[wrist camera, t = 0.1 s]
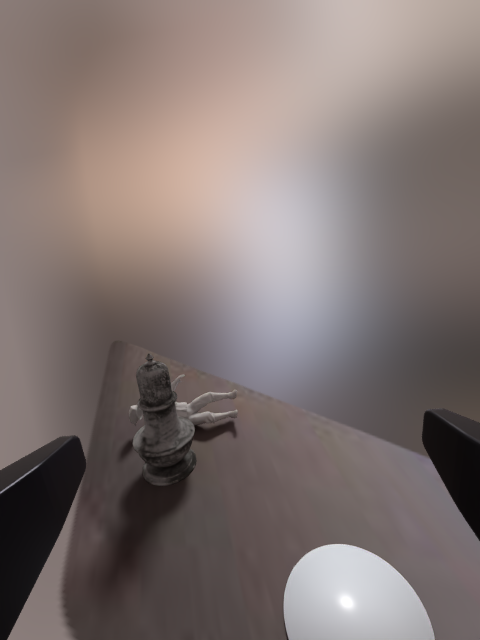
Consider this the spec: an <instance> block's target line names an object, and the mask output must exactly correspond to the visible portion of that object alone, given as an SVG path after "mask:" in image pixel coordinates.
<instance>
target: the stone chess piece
mask: <svg viewBox="0 0 480 640" xmlns="http://www.w3.org/2000/svg"><path fill="white" fill-rule="evenodd" d="M153 358H154V357H153V356H152V355H150V354H148V355H147V357H146V359H147V360H148V361H147V362H146V363H144V364H143V365H141V366H140V367H139V368H138V370H137V372H136V378H137V383H138V387H139V392H140V397H141V398H140V399H139V401H138V407H139V408H140V409H141V410H142V411H143V416H144V420H145V426H144V427H142V428H141V429H140V430H139V431H138V432H137V433H136V435H135V437H134V439H133V447H134V450H135V451H136V452H137V453H138V454H139V456H140V457H141V458H142V459H143V460H144V461H145V464H144V466H143V476H144V479H145V480H146V481H147V482H148V483H150V484H152V485H157V486H166V485H171V484H174V483H177V482H179V481H181V480H183V479H184V478H185V477H187V476H188V475H189V474H190V473H191V472H192V471H193V469H194V467H195V465H196V455H195V453H194V451H193V450H191V449H190V447H191V444H192V440H193V436H194V432H195V428H194V425H193V423H192V422H191V421H190V420H188V419H186V418H183V417H178V415H177V412H176V406H175V401H176V399H177V394H176V393H175V392H174V391H172V388H171V382H170V377H169V371H168V368H167V366H166V365H165V364H164V363H162V362H159V361H155V360H152V359H153Z"/></svg>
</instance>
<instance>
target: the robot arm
mask: <svg viewBox="0 0 480 640" xmlns="http://www.w3.org/2000/svg"><path fill="white" fill-rule="evenodd" d="M422 441H423V445H424V447H425V449H426V451H427V453H428V455H429V457H430V459H431V460H432V462H433V464H434V466H435V468H436V470H437V471H438V473H439V475H440V477H441V479H442V481H443V482H444V484H445V486H446V488H447V490H448V492H449V494H450V495H451V497H452V499H453V501H454V502H455V504H456V506H457V507H458V509H459V511H460V512H461V514H462V515H463V517H464V518H465V520H466V521H467V523H468V524H469V526H470V527H471V529H472V530H473V532H474V533H475V535H476V536H477V538H478V539H479V541H480V423H479V422H476V421H474V420H471V419H469V418H466V417H464V416H461V415H459V414H456V413H453V412H451V411H449V410H446V409H429V410H427V411H425V413H424V420H423V432H422ZM85 469H86V459H85V456H84V452H83V449H82V445H81V442H80V439H79V438H78V437H77V436H75V435H74V436H62V437H59V438H57V439H56V440H54V441H52V442H50V443H48V444H47V445H45V446H43V447H41V448H39V449H38V450H36V451H34V452H32V453H31V454H29V455H27V456H25V457H23V458H21V459H20V460H18V461H16V462H14V463H13V464H11V465H9V466H7V467H5V468H4V469H2V470H0V640H7V639H8V637H9V635H10V633H11V630H12V629H13V627H14V625H15V623H16V621H17V619H18V617H19V615H20V613H21V611H22V609H23V607H24V604H25V602H26V601H27V599H28V597H29V595H30V593H31V591H32V588H33V587H34V584H35V583H36V580H37V579H38V577H39V574H40V573H41V571H42V569H43V567H44V564H45V563H46V561H47V559H48V557H49V555H50V553H51V551H52V549H53V547H54V545H55V542H56V540H57V538H58V536H59V534H60V532H61V530H62V528H63V525H64V523H65V521H66V518H67V515H68V513H69V510H70V508H71V505H72V502H73V500H74V498H75V495H76V493H77V490H78V488H79V485H80V482H81V480H82V477H83V475H84V472H85Z"/></svg>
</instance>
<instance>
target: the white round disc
mask: <svg viewBox="0 0 480 640" xmlns="http://www.w3.org/2000/svg"><path fill="white" fill-rule="evenodd" d="M284 620H285V626H286V632H287V635H288V639H289V640H435V637H434V632H433V629H432V626H431V622H430V620H429V617H428V615H427V613H426V610H425V608H424V606H423V604H422V603H421V601H420V599H419V597H418V596H417V594H416V593H415V591H414V590H413V588H412V587H411V586H410V585H409V583H408V582H407V581H406V580H405V579H404V578H403V576H402V575H401V574H400V573H399V572H398V571H397V570H395V569H394V568H393V567H392V566H391V565H390V564H388V563H387V562H386V561H384V560H383V559H381V558H380V557H378V556H376V555H375V554H373V553H371V552H369V551H367V550H364V549H361V548H359V547H355V546H351V545H344V544H332V545H326V546H322V547H319V548H316V549H314V550H312V551H311V552H309V553H307V554H306V555H305V556H304V557H303V558H301V559H300V561H299V562H298V563H297V564H296V566H295V567H294V569H293V570H292V572H291V574H290V576H289V579H288V582H287V585H286V589H285V594H284Z"/></svg>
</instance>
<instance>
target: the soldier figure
mask: <svg viewBox="0 0 480 640" xmlns="http://www.w3.org/2000/svg"><path fill="white" fill-rule="evenodd" d="M184 376H185V375H180V376H178V378H176V379H175V380H174V381H173V382H172V384H171V388H172V391H174V390H175V389H176V387H177V385H178V382H182V381H180V378H181V377H184ZM236 395H237V391H236V390H234V391H233V392H229V393H212V392H208V393H205V394H204V395H201V396H199V397H197V398H196V399H194V400H193V401H192V402H191V403H190V404H186V402H182V403H178V402H177V401H175V406H176V412H177V415H178V417H183V418H186V419H188V420H190V421H191V422H192V423H193V425H200V424H203V423H215V422H216V421H219V420H221V419H225V418H228V417H231V418H237V413H238V411H237V410H235V411H230V412H227V413H213V412H211V413H210V412H204V413H197V412H198V411H199V410H200V409H201V408H202V407H204V406H206V405H207V404H208V403H211V402H215V401H218V400H222V399H228V398H229V399H234V398H236ZM130 408H131V409H130V411H129V419H130V422H131V423H132V424H134V425H135V426H136V423H137V421H138V419H141V418H142V414H143V411H142V410H141V409H140V408H139V407H138V406H137V405H135V406H131V407H130Z"/></svg>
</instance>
